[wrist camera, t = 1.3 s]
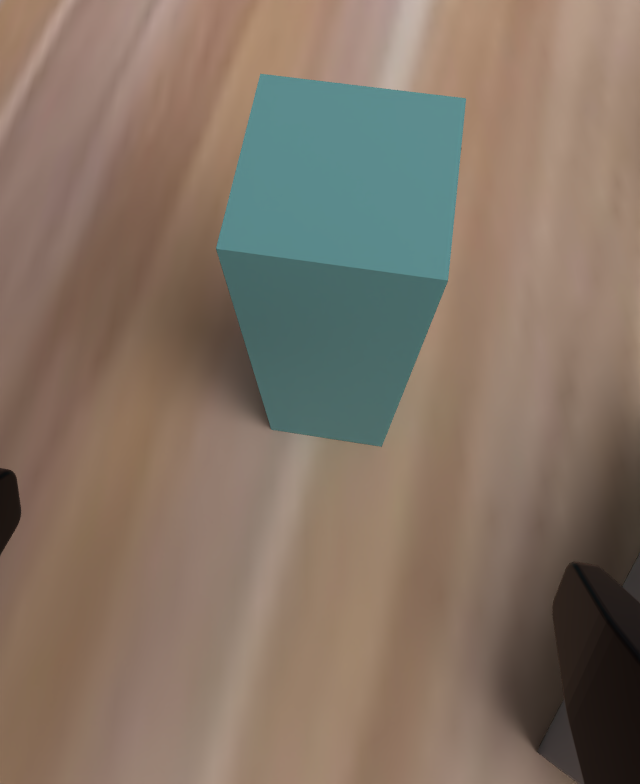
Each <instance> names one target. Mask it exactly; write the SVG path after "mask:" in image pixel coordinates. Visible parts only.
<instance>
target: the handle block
mask: <svg viewBox="0 0 640 784" xmlns="http://www.w3.org/2000/svg"><path fill="white" fill-rule="evenodd" d="M465 103H466V98H457V97H449V96H441V95H432V94H424V93H416V92H407V91H399V90H391V89H382V88H374V87H366V86H357V85H349V84H341V83H332V82H324V81H316V80H307V79H299V78H290V77H282V76H274V75H265V74H260V78H259V82H258V86H257V90H256V93H255V97H254V101H253V105H252V109H251V113H250V117H249V121H248V125H247V129H246V133H245V137H244V141H243V145H242V149H241V153H240V156H239V160H238V164H237V168H236V172H235V176H234V180H233V184H232V188H231V192H230V196H229V200H228V204H227V208H226V212H225V216H224V219H223V223H222V227H221V231H220V235H219V239H218V243H217V247H216V250H217V253H218V257H219V260H220V263H221V266H222V270H223V273H224V276H225V279H226V283H227V286H228V289H229V293H230V296H231V299H232V302H233V306H234V309H235V312H236V315H237V319H238V322H239V325H240V329H241V332H242V335H243V338H244V342H245V345H246V348H247V352H248V355H249V358H250V361H251V365H252V368H253V371H254V374H255V378H256V381H257V384H258V388H259V391H260V394H261V397H262V401H263V404H264V407H265V410H266V414H267V417H268V420H269V424H270V427H271V430H278V431H284V432H291V433H297V434H303V435H310V436H316V437H323V438H329V439H336V440H342V441H349V442H355V443H362V444H368V445H375V446H381V447H382V444H383V442H384V439H385V437H386V434H387V432H388V429H389V427H390V424H391V422H392V419H393V417H394V414H395V412H396V409H397V407H398V404H399V402H400V399H401V397H402V394H403V392H404V389H405V387H406V384H407V382H408V379H409V377H410V374H411V372H412V369H413V367H414V364H415V362H416V359H417V357H418V354H419V352H420V349H421V347H422V344H423V342H424V339H425V337H426V334H427V332H428V329H429V327H430V324H431V322H432V319H433V317H434V314H435V312H436V309H437V307H438V304H439V302H440V299H441V297H442V294H443V292H444V289H445V287H446V284H447V282H448V275H449V265H450V255H451V245H452V235H453V225H454V214H455V204H456V194H457V184H458V174H459V164H460V154H461V144H462V134H463V123H464V113H465Z"/></svg>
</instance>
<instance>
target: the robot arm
mask: <svg viewBox="0 0 640 784" xmlns="http://www.w3.org/2000/svg"><path fill="white" fill-rule="evenodd" d="M20 517H21V505H20V498H19V491H18V484H17V478H16V475H15V473H14V472H13V471H11V470H9V469H3V468H0V555H1V553H2V551H3V550H4V548H5V546H6V545H7V543H8V541H9V539H10V538H11V536H12V534H13V533H14V531H15V529H16V527H17V525H18V523H19V521H20ZM553 621H554V629H555V636H556V643H557V650H558V658H559V665H560V672H561V679H562V687H563V694H564V700H565V706H566V712H567V716H568V721H569V725H570V729H571V733H572V737H573V741H574V745H575V749H576V753H577V757H578V761H579V765H580V769H581V773H582V777H583V781H584V784H640V602H639V601H638V600H637V599H635V598H634V597H633V596H632V595H631V594H630V593H629V592H628V591H626V590H625V589H624V588H623V587H622V586H621V585H620V584H619V583H617V582H616V581H615V580H614V579H613V578H612V577H611V576H610V575H608V574H607V573H606V572H605V571H604V570H603V569H602V568H600V567H599V566H597V565H592V564H586V563H580V562H572V563H570V564H569V565H568V566H567V568H566V570H565V573H564V575H563V578H562V580H561V583H560V585H559V588H558V590H557V593H556V596H555V598H554V602H553Z"/></svg>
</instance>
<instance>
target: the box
mask: <svg viewBox="0 0 640 784" xmlns="http://www.w3.org/2000/svg"><path fill="white" fill-rule="evenodd" d="M622 587H623V588H624V589H625V590H626V591H628V592H629V593H630V594H631V595H632V596H633V597H634V598H635V599H637V600H638V601H639V602H640V553H639V555H638V557H637V559H636V561H635V563H634V565H633V567H632V569H631V571H630V573H629V575H628V577H627V579H626V580H625V582H624V584H623V586H622ZM537 752H538V753H539V754H540V755H542V756H543V757H544V758H546V759H547V760H548V761H549V762H551V763H552V764H553V765H555V766H556V767H557V768H559V769H560V770H561V771H563V772H564V773H565V774H567V775H568V776H569V777H571V778H572V779H573V780H575V781H576V782H577V783H579V784H584V781H583V777H582V773H581V769H580V765H579V761H578V757H577V753H576V749H575V745H574V741H573V737H572V733H571V729H570V725H569V721H568V716H567V712H566V706H565V700H563V702H562V704H561V706H560V708H559V710H558V712H557V713H556V715H555V717H554V719H553V721H552V723H551V725H550V727H549V729H548V731H547V733H546V735H545V737H544V738H543V740H542V742H541V744H540V746H539V748H538V750H537Z"/></svg>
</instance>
